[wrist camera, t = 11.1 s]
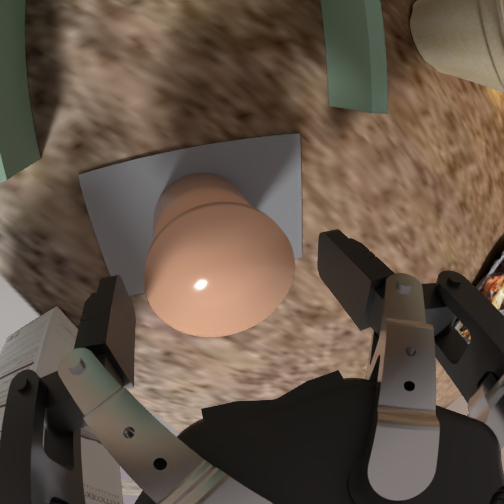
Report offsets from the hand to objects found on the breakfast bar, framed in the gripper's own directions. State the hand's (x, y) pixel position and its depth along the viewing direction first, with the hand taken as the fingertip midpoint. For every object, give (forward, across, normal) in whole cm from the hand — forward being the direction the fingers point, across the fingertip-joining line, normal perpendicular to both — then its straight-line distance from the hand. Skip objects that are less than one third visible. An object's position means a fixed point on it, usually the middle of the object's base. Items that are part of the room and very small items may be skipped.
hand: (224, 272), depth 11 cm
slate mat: (+6, 0, 0) cm, 6 cm away
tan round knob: (+6, 0, 0) cm, 6 cm away
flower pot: (+6, -18, -12) cm, 22 cm away
